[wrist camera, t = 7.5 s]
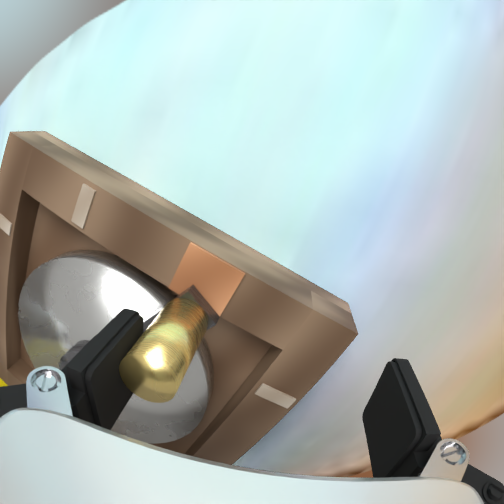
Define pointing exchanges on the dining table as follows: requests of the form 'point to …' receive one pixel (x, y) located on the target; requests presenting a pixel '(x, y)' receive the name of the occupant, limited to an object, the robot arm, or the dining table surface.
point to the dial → (143, 351)
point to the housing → (170, 286)
